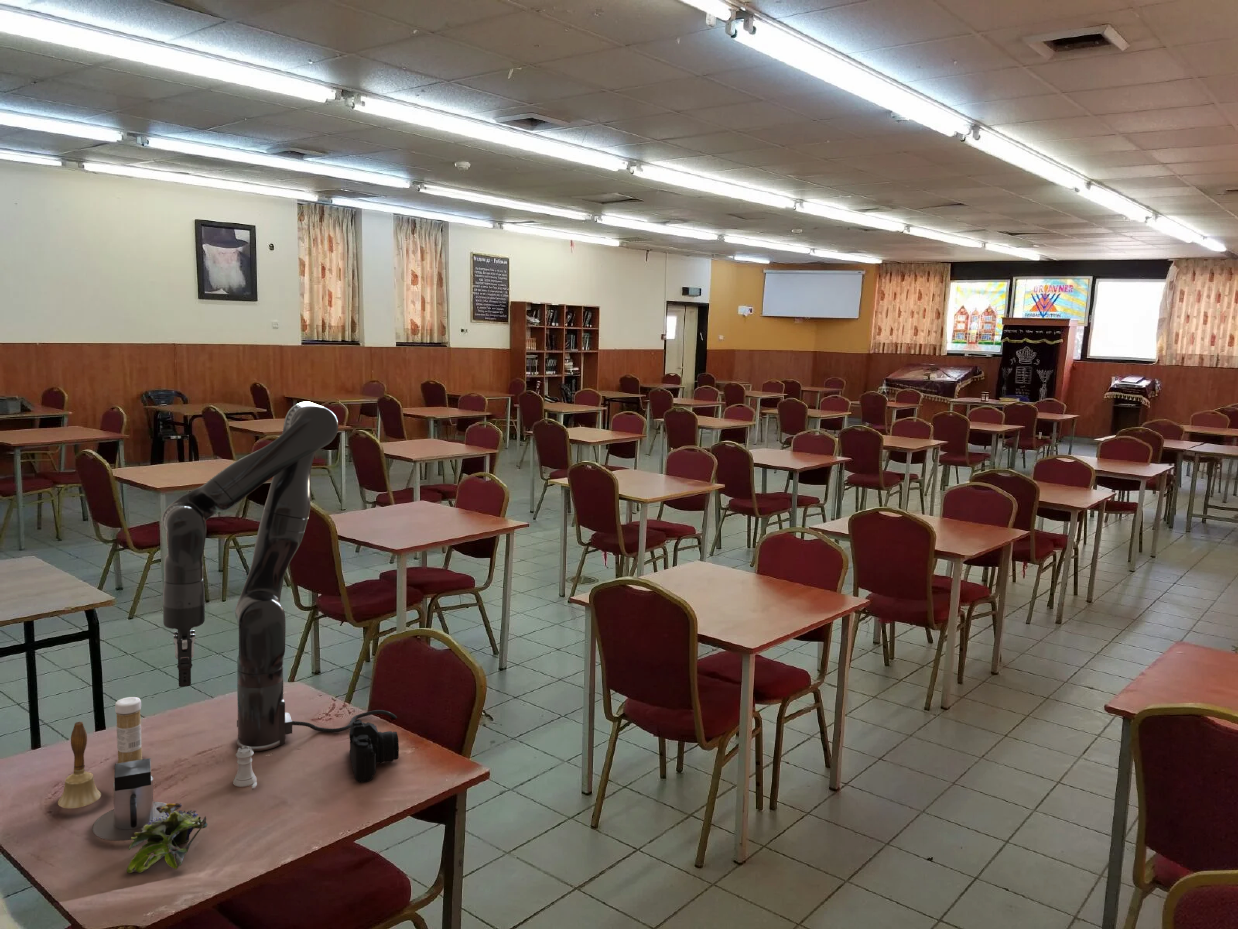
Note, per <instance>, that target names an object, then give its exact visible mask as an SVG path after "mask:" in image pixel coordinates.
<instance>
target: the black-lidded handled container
mask: <svg viewBox="0 0 1238 929" xmlns="http://www.w3.org/2000/svg"><path fill="white" fill-rule="evenodd" d="M113 779H114V780H113V783H112V785H113V786H112V793H113V809H114V825H115V826H116V827H117V828H119V829H125V830H128V829H135V828H139V827H142V826H145V825H147V823H148V822H149V821H151V820H153V819H152V818H154V802H155V801H154V776H153V775H152V761H151V758H149V757H148V758H142V760H136V761H129V762H123V763H118V762H116V763H115V764H114V778H113Z"/></svg>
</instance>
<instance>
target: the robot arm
mask: <svg viewBox="0 0 1238 929" xmlns="http://www.w3.org/2000/svg"><path fill="white" fill-rule="evenodd" d="M283 422H284V423H283V426H282V434H281V435H279V437H277V438H276V439H274V440H273V441H272V442H270V443H268V444H267V445H265V446H263V447H262V448H260V449H258V450H256V451H254V452H252V453H249V454H247V455H245V456H243V457H242V458H240V459H237V460H236V461H234V462H232V463H231V464H229V465H227V466H226V467H225V468H224V469H223V470H221V471H220V472H218V473H216V475H214V476H213V477H211V478H210V479H209V480H208V481H206V482H205V483H204V484H203V485H201V486H199V487H197V488H195V489H193V490H191V491H189V492H188V493H185V494H184V495H182V496H180V497H178V498H177V499H176V500H174V501H173V502H171V503H170V504H169V505H168V506H166V508H165V510H164V511H163V513H162V515H161V525H162V527H163V529H164V530H165V531H166V533H167V553H166V554H165V557H164V566H163V568H164V569H163V571H164V572H163V573H164V578H163V580H164V581H163V582H164V583H163V589H162V590H163V591H162V612H163V613H162V614H163V616H162V617H163V618H162V619H163V621H162V622H163V626H164V627H165V628H168V629H172V630H173V629H174V630H177V631H173V645H174V658H175V659H176V660H177V665H176V668H177V671H178V687H179V688H185V687H190V686H191V685H192V668H193V663H192V661H193V658H194V656H195V643H196V630H195V629H193V628H197V627H200V626H202V625H203V624H204V623H205V621H206V594H205V593H206V592H205V591H206V589H205V583H204V582H205V581H204V552H205V546H206V538H207V522H206V521H207V520H208V519H210V518H211V517H213V516H215V515H216V514H217V513H224V512H227V511H228V510H231V509H232V508H233V507H235V506H236V505H237V504H239V503H240V502H241V501H243V500H244V499H245V498H246V497H248V496H249V495H250V494H252V493H253V492H254V491H256V490H257V489H258V488H259V487H261V486H262V485H263V484H265V483H266V482H267V481H269V480H271V483H270V486H269V490H268V494H267V498H266V500H265V503H264V507H263V509H262V513H261V517H260V521H259V524H258V530H257V533H256V534H257V535H256V539H255V544H254V548H253V555H252V559H251V560H252V561H251V565H250V568H249V572H248V575H247V577H246V580H245V582H244V584H243V588H242V590H241V593H240V595H239V597H238V600H237V603H236V606H235V610H234V615H235V620H236V623H237V626H238V653H237V654H238V655H237V657H236V681H237V682H236V683H237V684H236V688H237V689H236V691H237V719H236V728H237V741H236V744H237V748H238V749H239V748H241V749H242V747H243V746H244V749H245V748H246V747H247V746H249V749H250V747H251V748H252V751H253V752H263V751H268V750H271V749H275V748H277V747H278V746H281V745H285V744H286V735H292V734H293V726H298V727H299V726H302V727H308V728H310V729H311V730H313V731H317V732H322V733H341V732H344V731H347V730H350V727H351V725H352V724H353V721H355V720H357V719H361V718H364V717H368V716H373V715H385V716H388V717H390V718H392V719H397V718H398V717H397V715H396V714H394V713H392V712H390V711H388V710H383V709H376V710H370V711H366V712H362V713H358V714H356V715H354V716H353V717H352V718H351V720H350V721H349V722H348V724H347V725H345V726H342V727H335V728H329V727H321V726H317V725H315V724H313V723H310V722H307V721H299V720H297V721H296V720H295V721H294V720H292V718H291V714H290V712H286V702H285V699H284V658H285V653H286V632H287V631H286V630H287V628H286V626H287V625H286V624H287V623H286V613H285V610H284V607H283V606H282V604H281V598H282V590H283V585H284V581H285V576H286V573H287V570H288V568H289V565H290V564H291V562H292V560H293V558H294V557H295V554H296V553H297V551H298V550H299V547H300V545H301V544H302V541H303V538H304V535H305V531H306V528H307V524H308V520H309V517H310V514H311V513H310V511H311V506H312V505H311V504H312V503H311V502H312V501H311V500H312V485H311V481H312V480H311V479H312V478H311V476H312V475H311V474H312V467H313V464H314V459H315V456H316V453H317V451H319V450H321V449H323V448H324V447H326V446H328V445H330V443H332V442H333V441H334V440H335V438H336V436H337V435H338V432H339V420H338V418H337V416H336V414H335V413H334V412H333V411H332V410H330V409H329V408H327V407H325V406H323V405H320V404H317V403H314V402H311V401H301V402H299V403H296V404H294V405H293V406H292V407H291V408H290V409H289V410H288V411H287V412H286V416H285V418H284V421H283ZM192 629H193V630H192Z"/></svg>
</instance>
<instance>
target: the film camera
mask: <svg viewBox="0 0 1238 929" xmlns="http://www.w3.org/2000/svg"><path fill="white" fill-rule="evenodd" d="M348 736H349V737H348V738H349V750H348V751H349V752H348V753H349V758H350V763H351V768H352V772H353V775H354V778H355V781H356V782H358V783H367V782H370V781H372V780H373V778H374V777H373V776H375V774H376V772H377V769H376V768H377V764H384V763H391V762H393V761H396V760H399V757H400V756H399V755H400V744H399V734H398V732H397V731H392V730H388V731H378V727H377V725H375V724H374V723H372V722H363V721H362V720H360V718H358V719H356V720H355V721H353V724H352V725H351V727H350V728H349V732H348Z"/></svg>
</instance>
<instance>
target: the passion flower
mask: <svg viewBox="0 0 1238 929" xmlns="http://www.w3.org/2000/svg"><path fill="white" fill-rule="evenodd" d="M166 804H167V805H166V806H159V807H157V808H156V809H157V810H158V811H159V813H165V814H166V815H167V817H164V816H162V817H161V818H160V817H159V818H156V819H154V818H152V819H154V820H151V821H149V822H148V823H147V825H145V826H143V827H144V828H142V830H143V831H142V832H141V833H140V832H139V833H138V832H136V833H134V834H135V836H137V837H131V839H132V841H131V843H130V844H129V846H128V851H131V850H132V849H133V848H135V846H138V845H139V844H141V843H144V842H145V841H146V843H144V844H143V845H142V846H141V847H140V848H139V850H138V851H137V852H135V854H134V856H133V857H132V859H130V861H129V862H128V865H127V868H126V873H128V874H132V873H134V872H136V873H143V872H145V871H146V870H148V869H150V868H151V867H152V866H153V865H155V864H156V863H157V862H159V860H161V859H162V858H163V857H164V861H165V862H166V864H167V866H168V867H171V868H173V869H174V870H177V869H178V867H180V866H182V863H183V860H184V858H185V855H186V854H187V853H188V851H189V848H190V845H191V844H192V843H193V841H194V840H195V838H196V837H197V836H198V834H199V833H200V831H201V830H202V829H205V828H207V827H208V823H207V816H206V815H205V816H204V817H203V819H201V818H202V817H201V816H198V815H199V814H198V813H196V812H197V810H192V809H190V810H188V811H187V812H186V810H184V811H183V810H179V809H180V808H182V805H183V804H182V802H177V803H166ZM173 811H174V812H173ZM195 829H197V831H196V832H195V833H194V835H193V836H192V838H191V839H190V836H191V834H192V832H193V831H194V830H195ZM184 843H187V844H186V845H185V846H184V847H182V848H181V847H179V845H182V844H184ZM176 861H177V862H178V864H177V862H176Z"/></svg>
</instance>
